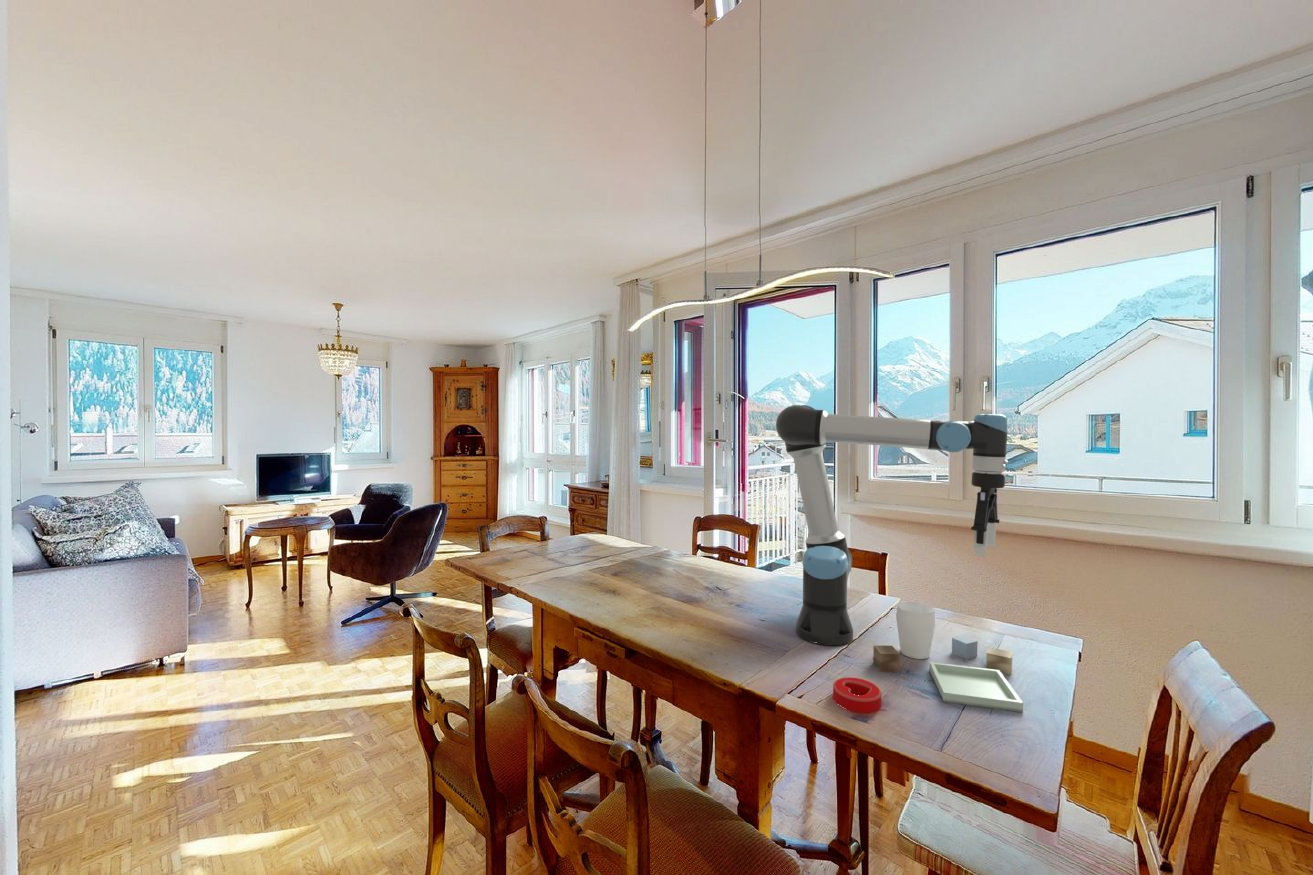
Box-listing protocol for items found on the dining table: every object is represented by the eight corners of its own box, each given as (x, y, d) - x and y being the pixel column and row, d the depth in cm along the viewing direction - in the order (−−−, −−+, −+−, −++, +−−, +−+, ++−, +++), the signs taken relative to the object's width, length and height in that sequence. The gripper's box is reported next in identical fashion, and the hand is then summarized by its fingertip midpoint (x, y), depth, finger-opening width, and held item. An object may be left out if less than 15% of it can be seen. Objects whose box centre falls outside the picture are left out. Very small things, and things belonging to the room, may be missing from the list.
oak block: (986, 669, 128) (986, 652, 128) (987, 662, 131) (988, 646, 131) (1011, 674, 125) (1011, 658, 125) (1012, 668, 128) (1012, 652, 128)
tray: (943, 701, 113) (943, 692, 113) (929, 670, 127) (929, 661, 127) (1022, 712, 109) (1023, 702, 109) (999, 678, 123) (999, 669, 123)
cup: (939, 663, 131) (940, 615, 130) (900, 659, 133) (901, 612, 132) (928, 647, 140) (929, 602, 139) (891, 644, 142) (892, 600, 141)
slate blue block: (966, 659, 133) (966, 643, 133) (951, 652, 137) (952, 637, 137) (977, 656, 135) (977, 641, 134) (962, 650, 138) (962, 635, 138)
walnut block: (880, 672, 127) (880, 653, 126) (873, 663, 131) (873, 645, 131) (899, 672, 127) (899, 653, 126) (891, 663, 131) (892, 645, 131)
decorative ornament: (891, 707, 112) (891, 692, 112) (858, 719, 107) (858, 703, 107) (855, 686, 120) (855, 672, 120) (823, 696, 116) (823, 682, 116)
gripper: (997, 477, 130) (993, 563, 131) (1011, 469, 149) (1008, 544, 150) (962, 474, 135) (958, 557, 136) (980, 467, 154) (977, 540, 155)
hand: (984, 550), depth 143 cm, fingers open, 13 cm apart
